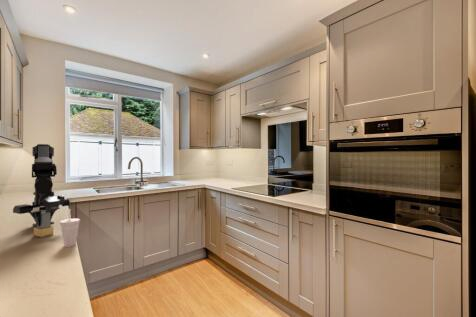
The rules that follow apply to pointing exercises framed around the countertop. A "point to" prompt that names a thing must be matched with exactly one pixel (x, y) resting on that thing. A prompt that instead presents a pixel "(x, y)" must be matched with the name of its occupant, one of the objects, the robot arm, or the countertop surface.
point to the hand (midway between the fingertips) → (43, 225)
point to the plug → (44, 220)
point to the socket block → (43, 232)
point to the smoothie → (69, 230)
